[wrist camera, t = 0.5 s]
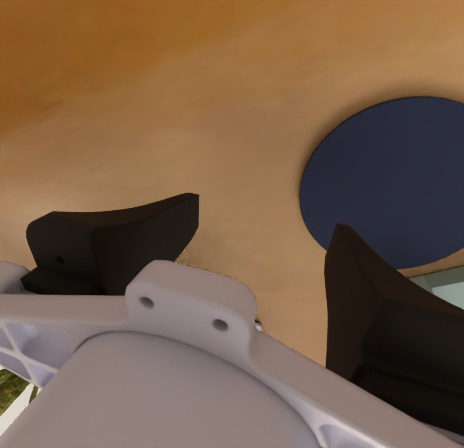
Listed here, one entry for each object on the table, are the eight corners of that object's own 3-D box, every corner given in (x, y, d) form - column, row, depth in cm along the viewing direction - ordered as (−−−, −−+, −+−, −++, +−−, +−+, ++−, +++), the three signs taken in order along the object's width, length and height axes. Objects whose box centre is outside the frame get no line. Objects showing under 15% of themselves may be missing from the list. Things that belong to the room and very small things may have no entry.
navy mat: (451, 280, 22) (454, 284, 22) (288, 249, 26) (288, 252, 25) (561, 103, 15) (569, 104, 15) (317, 90, 18) (317, 91, 18)
